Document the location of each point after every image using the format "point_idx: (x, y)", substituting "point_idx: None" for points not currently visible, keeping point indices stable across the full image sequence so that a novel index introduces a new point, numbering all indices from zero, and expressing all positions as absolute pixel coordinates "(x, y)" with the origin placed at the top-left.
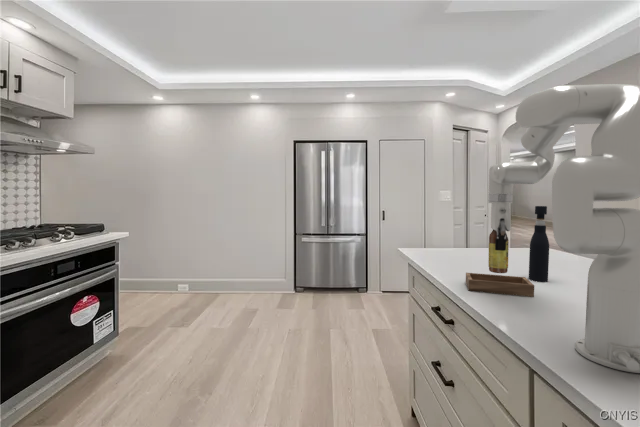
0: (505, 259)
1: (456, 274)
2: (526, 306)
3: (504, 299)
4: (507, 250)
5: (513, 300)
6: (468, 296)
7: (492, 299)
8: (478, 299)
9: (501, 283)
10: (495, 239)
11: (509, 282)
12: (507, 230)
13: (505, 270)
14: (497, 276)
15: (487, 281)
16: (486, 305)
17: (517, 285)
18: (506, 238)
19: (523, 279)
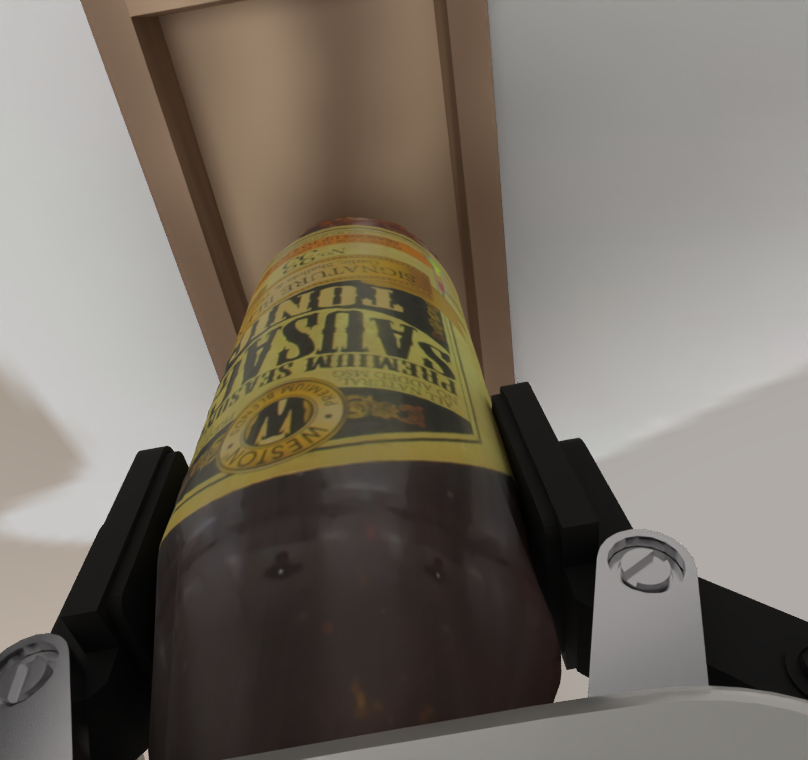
0: (445, 303)
1: (47, 533)
2: (765, 25)
3: (624, 186)
4: (424, 346)
5: (629, 120)
6: (631, 401)
7: (652, 265)
8: (680, 345)
9: (503, 238)
10: (566, 655)
11: (192, 149)
12: (381, 734)
13: (420, 245)
14: (220, 276)
15: (509, 347)
16: (797, 294)
17: (490, 92)
18: (439, 525)
19: (193, 6)
